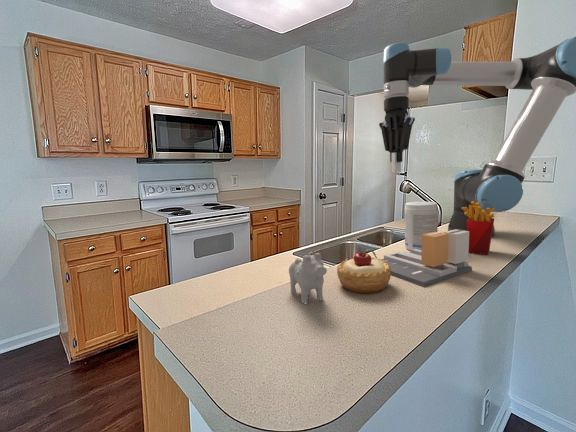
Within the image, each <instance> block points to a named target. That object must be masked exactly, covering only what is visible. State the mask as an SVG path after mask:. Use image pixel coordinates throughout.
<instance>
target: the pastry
mask: <svg viewBox="0 0 576 432" xmlns="http://www.w3.org/2000/svg"><path fill="white" fill-rule="evenodd" d="M367 252H371V253H372V254H373V256H374V257H372V256H371V255H370V254H369V253H367ZM353 255H354V256H353V257H351V258H350V259H348V258H345V260H342V261H341V262H340V263H339V264H338V266H337V267H336V268H337V269H336V271H337V273H336V276H337V278H338V280H339V282H340V284H341V285H342V286H343V288H345V290H347V291H350V292H353V293H357V294H375V293H379V292H381V291H383V290H384V289H386V287H387V286H388V284H389V283H390V280H391V276H392V275H391V267H390V266H389V264H388V263H386V262H385V261H381V259H380V258H378V256H377V255H376V252H374V250H373V249H370V248H369V249H366V250H364V251H363V252H362V251H359V252H357V253H355V254H353Z"/></svg>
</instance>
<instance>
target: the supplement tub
mask: <svg viewBox="0 0 576 432" xmlns="http://www.w3.org/2000/svg"><path fill="white" fill-rule="evenodd" d="M438 215H439V213H438V203H437V202H434V201H409V202H408V201H407V202H406V203H405V205H404V247H405V249H407V250H408V251H410V252H412V250H414V249H418V250H422V234H427V233H431V232H439V231H438V229H439V228H438V226H439V225H438V222H439V221H438V217H439V216H438Z"/></svg>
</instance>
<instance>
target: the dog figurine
mask: <svg viewBox="0 0 576 432" xmlns="http://www.w3.org/2000/svg"><path fill="white" fill-rule="evenodd" d="M327 271H328V269H327V268H326V267H324V262H323V260H322V255H321V253H320V252H316V253H314V254H311V255H307V254H306V255H303V257H302V258H299V257H298V258H296V259H295V260H294V262H292V263H291V264H290V265H289V267H288V274H289V278H290V280H289V281H290V293H291V292H296V291H297V289H296V285H297V284H298V286H299V289H300V290H301V291H300V292H301V294H300V297H301V299H300V301H301V302H302V303H304V304H303V305H307V304H309V303H308V299H309V294H310V291H311V290H315V292H316V299H318V301H320V300H322V301H324V300H323V299H324V296H323V294H324V293H323V287H324V286H323V285H324V278H325V277H324V275H326V274H327ZM296 293H297V292H296ZM301 302H300V303H301ZM302 303H301V304H302ZM305 303H306V304H305Z"/></svg>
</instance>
